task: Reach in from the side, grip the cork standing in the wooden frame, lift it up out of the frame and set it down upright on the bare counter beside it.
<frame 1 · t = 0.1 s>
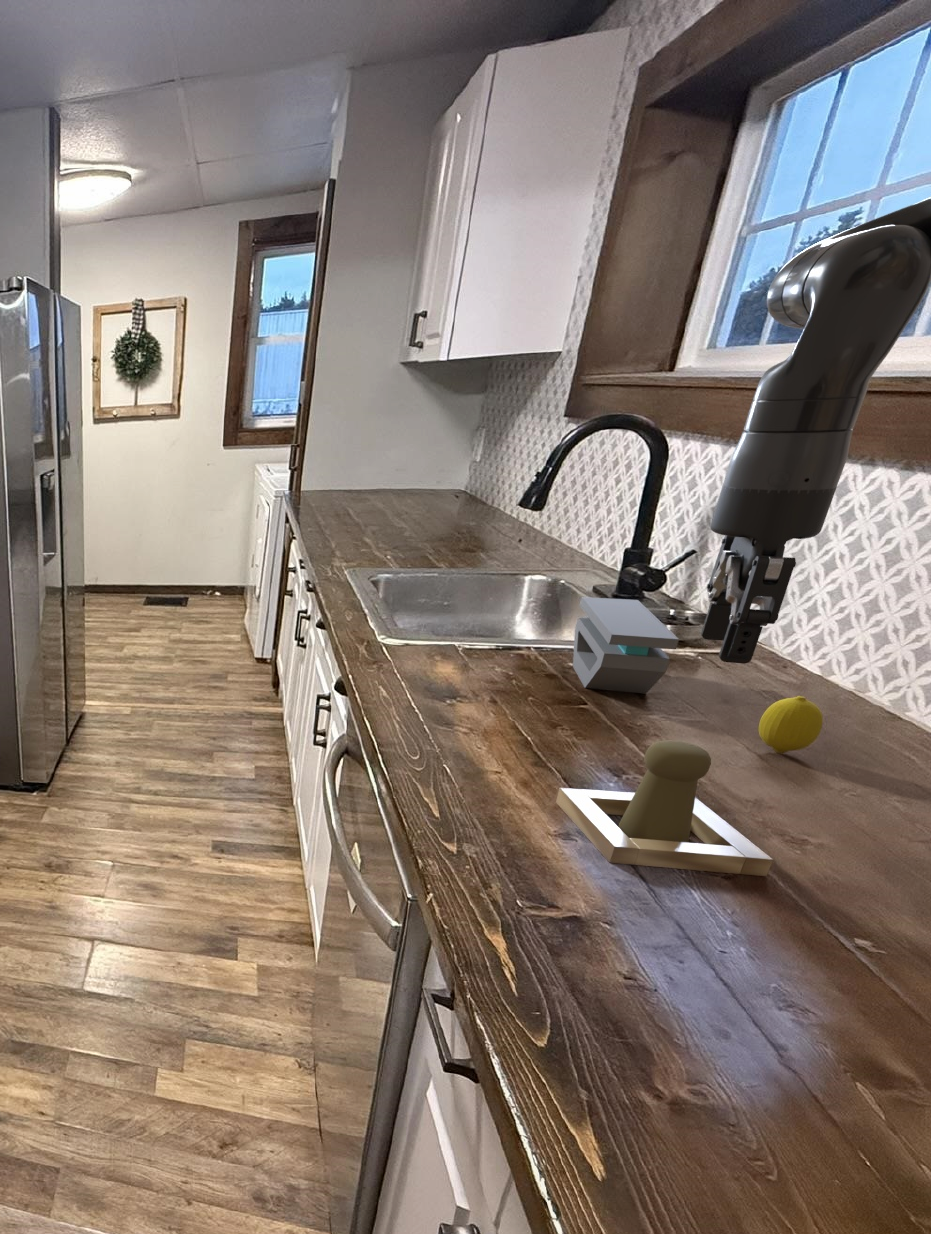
hand: (723, 650, 77), 21 cm above the worktop, tool pointing down, fingers open, 8 cm apart
grey slotted holder: (607, 680, 129), on the worktop
lemon: (778, 754, 102), on the worktop
wooden frame: (651, 836, 85), on the worktop
cork: (651, 837, 85), resting in wooden frame
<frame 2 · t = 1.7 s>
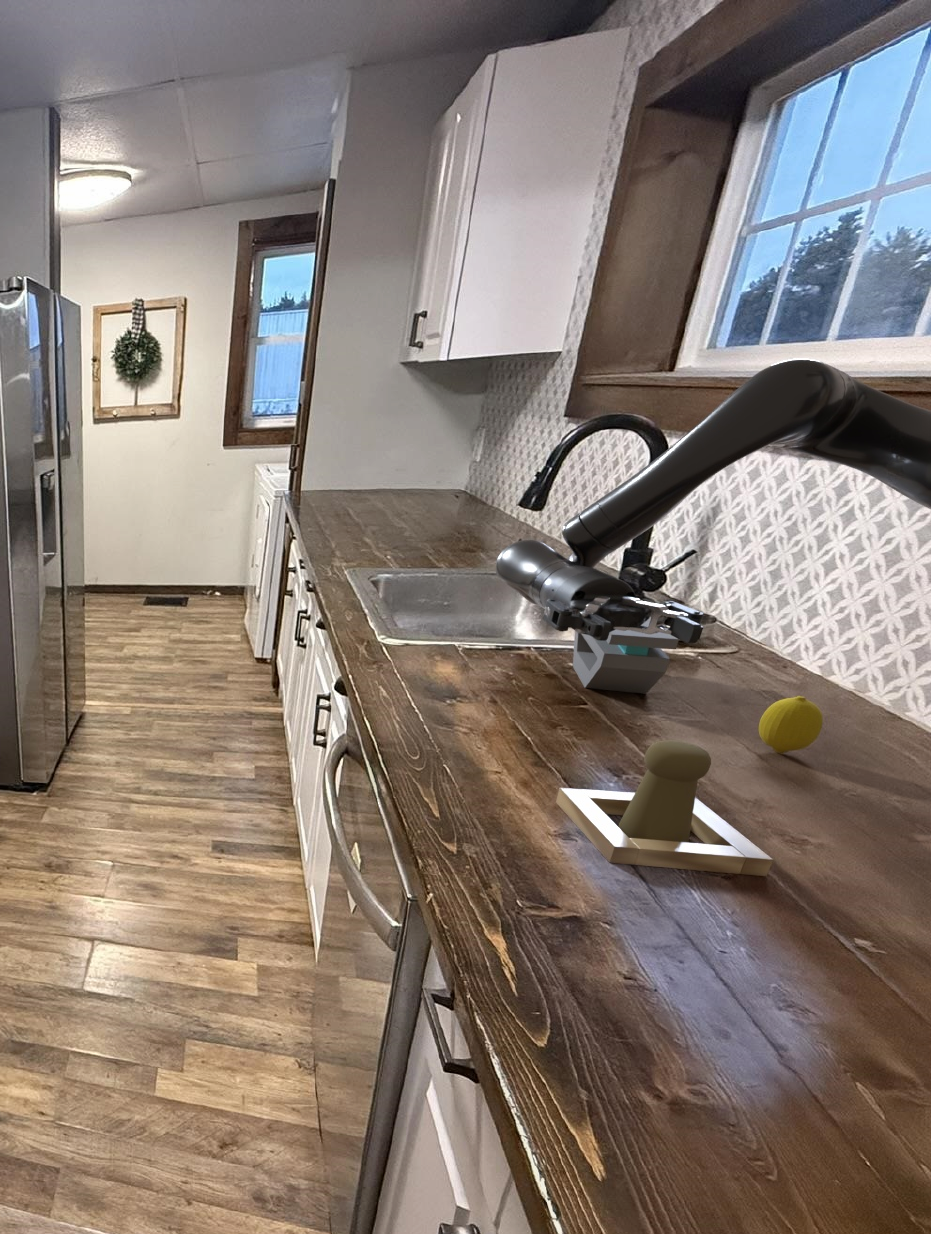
hand: (650, 633, 87), 20 cm above the worktop, tool horizontal, fingers open, 8 cm apart
nothing on the worktop moved.
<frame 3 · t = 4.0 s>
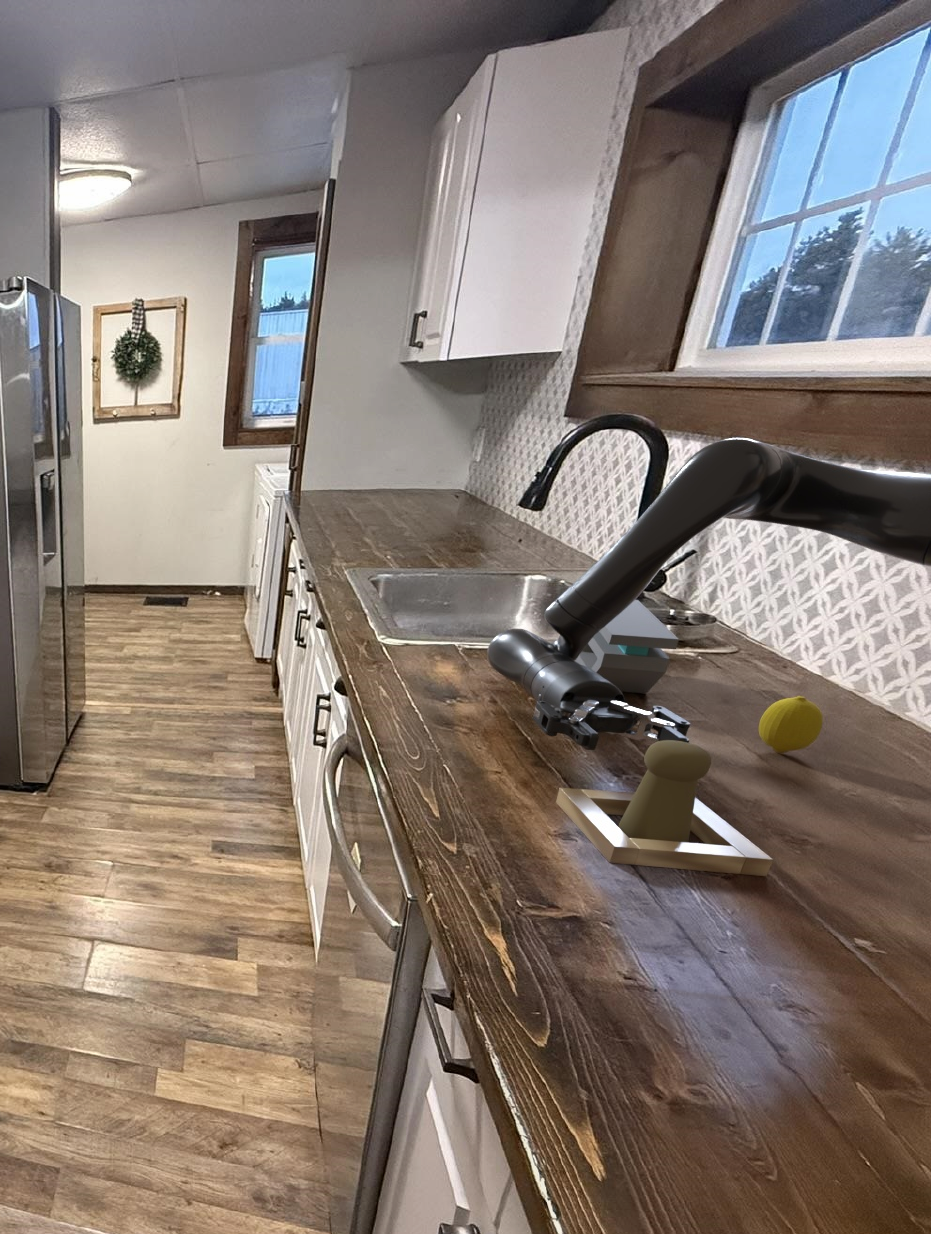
hand: (637, 745, 88), 8 cm above the worktop, tool horizontal, fingers open, 8 cm apart
nothing on the worktop moved.
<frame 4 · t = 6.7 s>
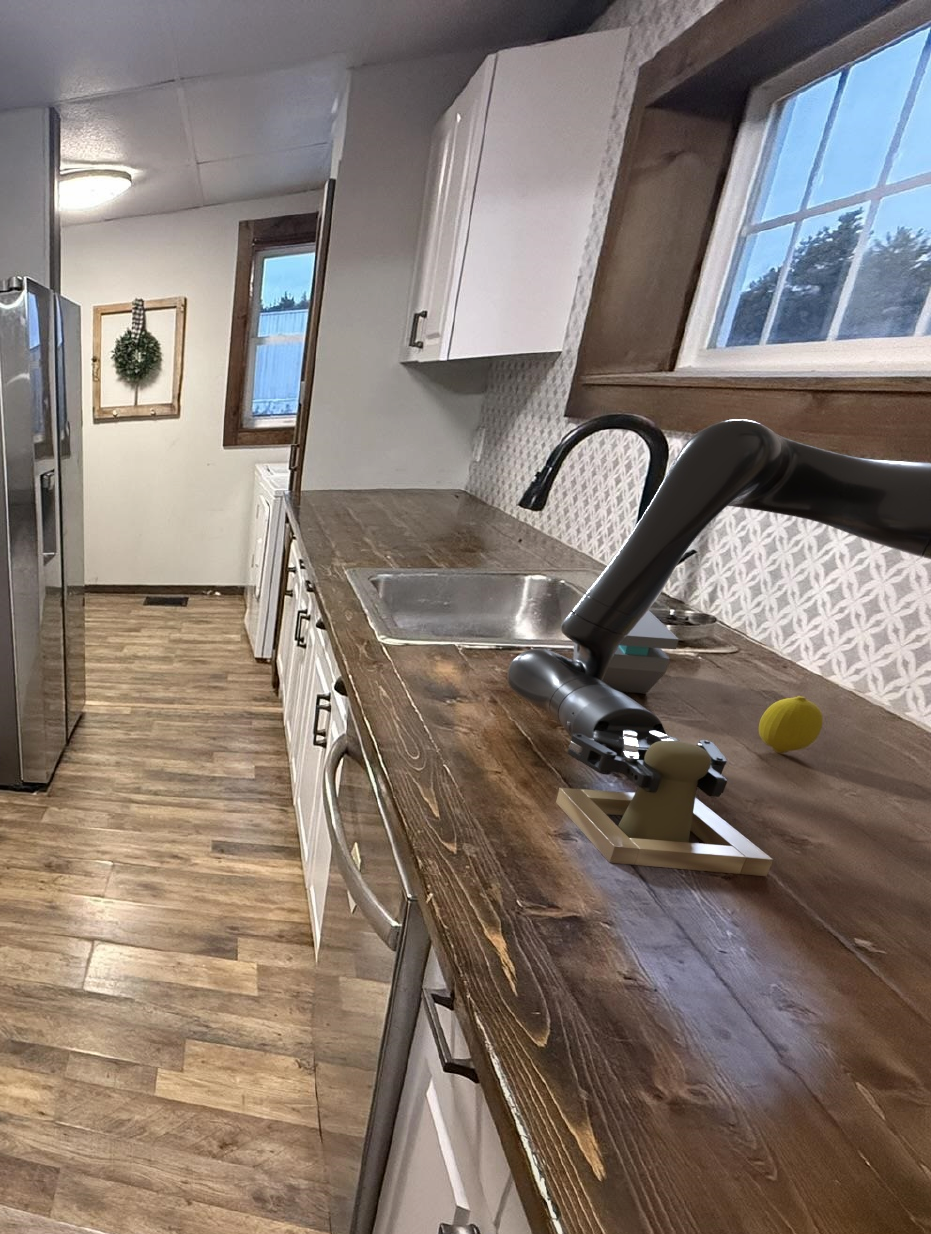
hand: (686, 786, 80), 7 cm above the worktop, tool horizontal, fingers closed on cork, 5 cm apart
cork: (651, 837, 85), resting in wooden frame, touching gripper
everything else where it was.
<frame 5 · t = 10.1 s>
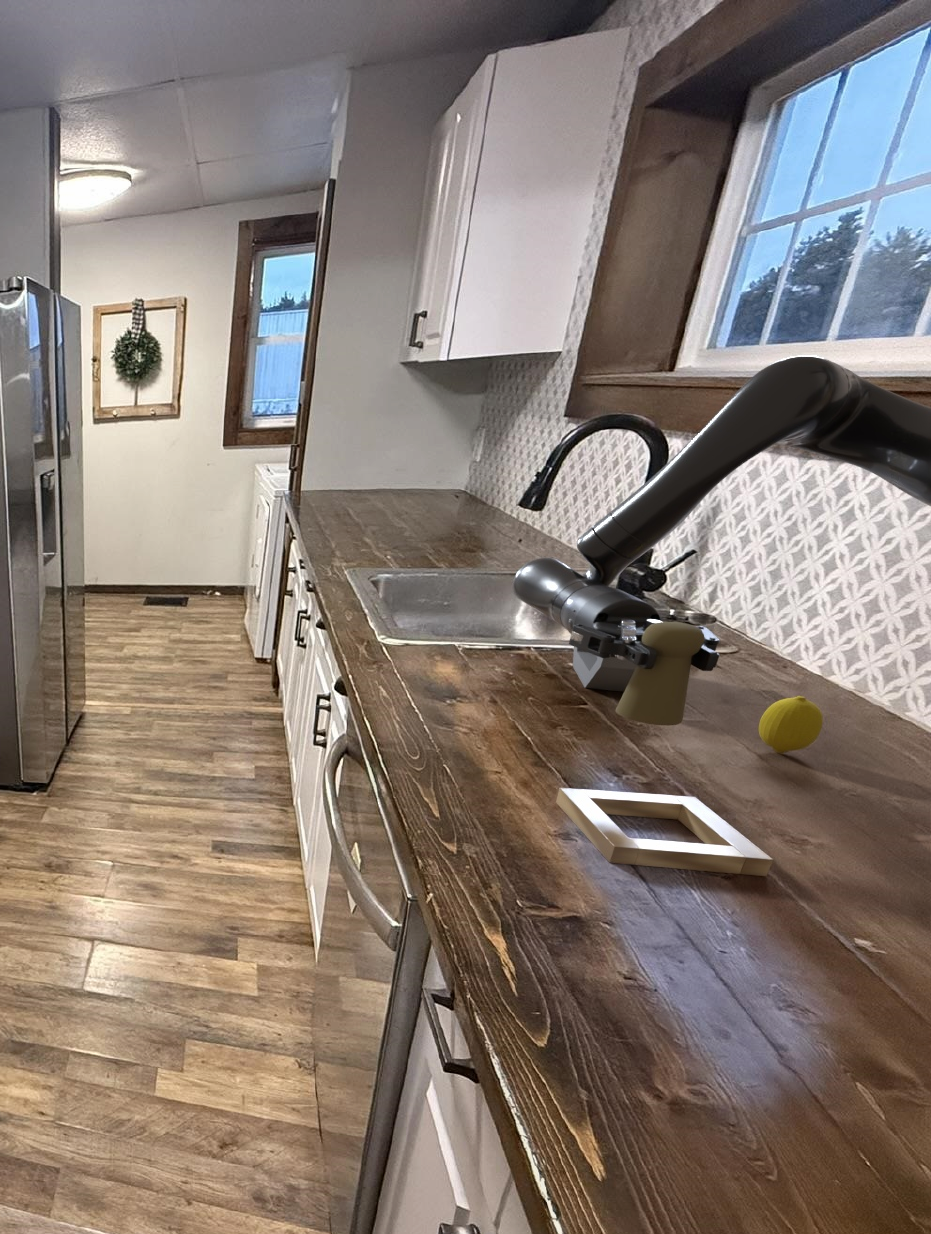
hand: (681, 661, 85), 18 cm above the worktop, tool horizontal, fingers closed on cork, 5 cm apart
cork: (647, 716, 90), point 10 cm above the worktop, touching gripper
everything else where it was.
when the fingers open (7 cm above the worktop, at t = 13.8 s): cork stays where it is, on the worktop.
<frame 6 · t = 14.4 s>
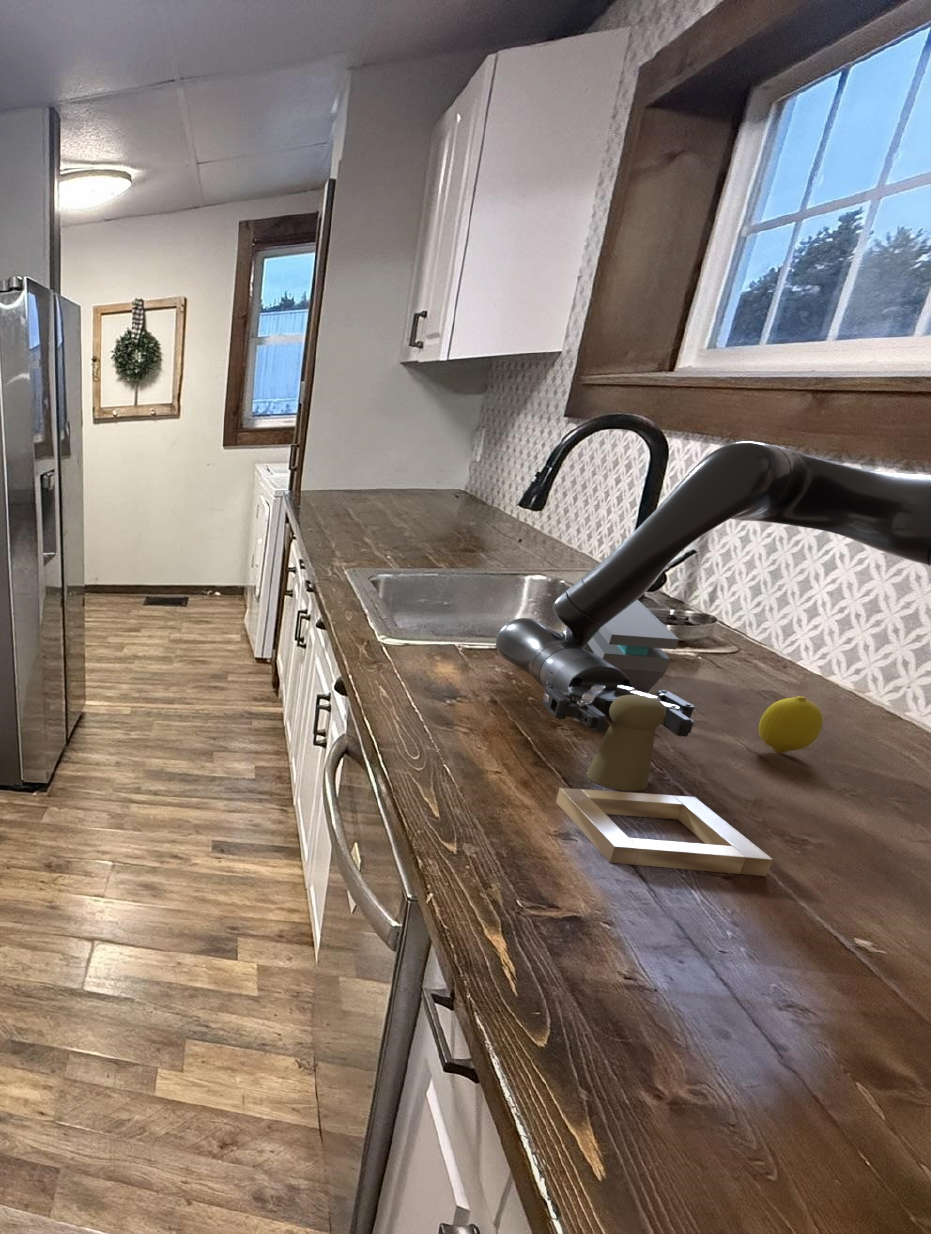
hand: (643, 727, 92), 8 cm above the worktop, tool horizontal, fingers open, 8 cm apart
cork: (615, 781, 97), on the worktop
everything else where it was.
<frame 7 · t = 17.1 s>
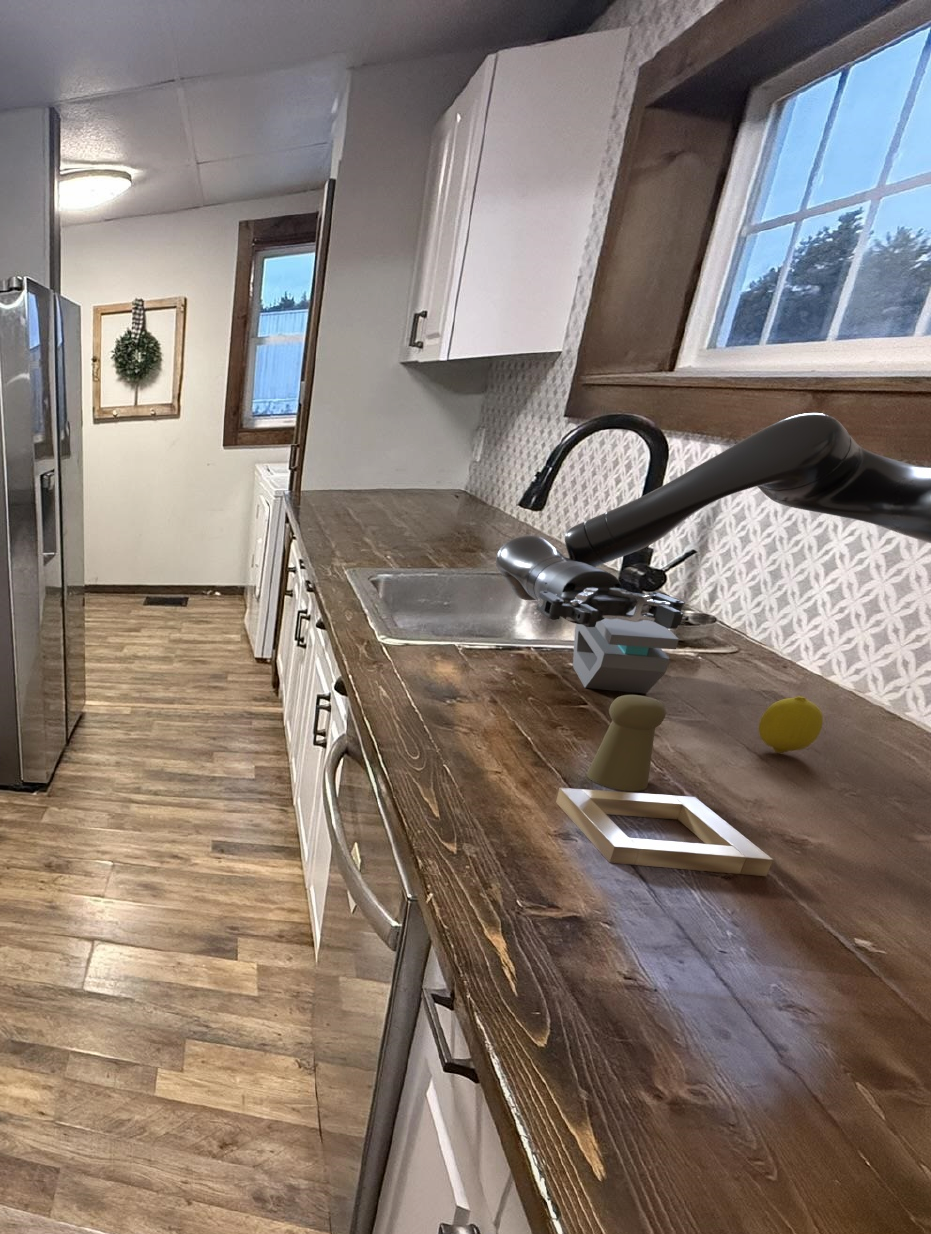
hand: (634, 620, 95), 19 cm above the worktop, tool horizontal, fingers open, 8 cm apart
nothing on the worktop moved.
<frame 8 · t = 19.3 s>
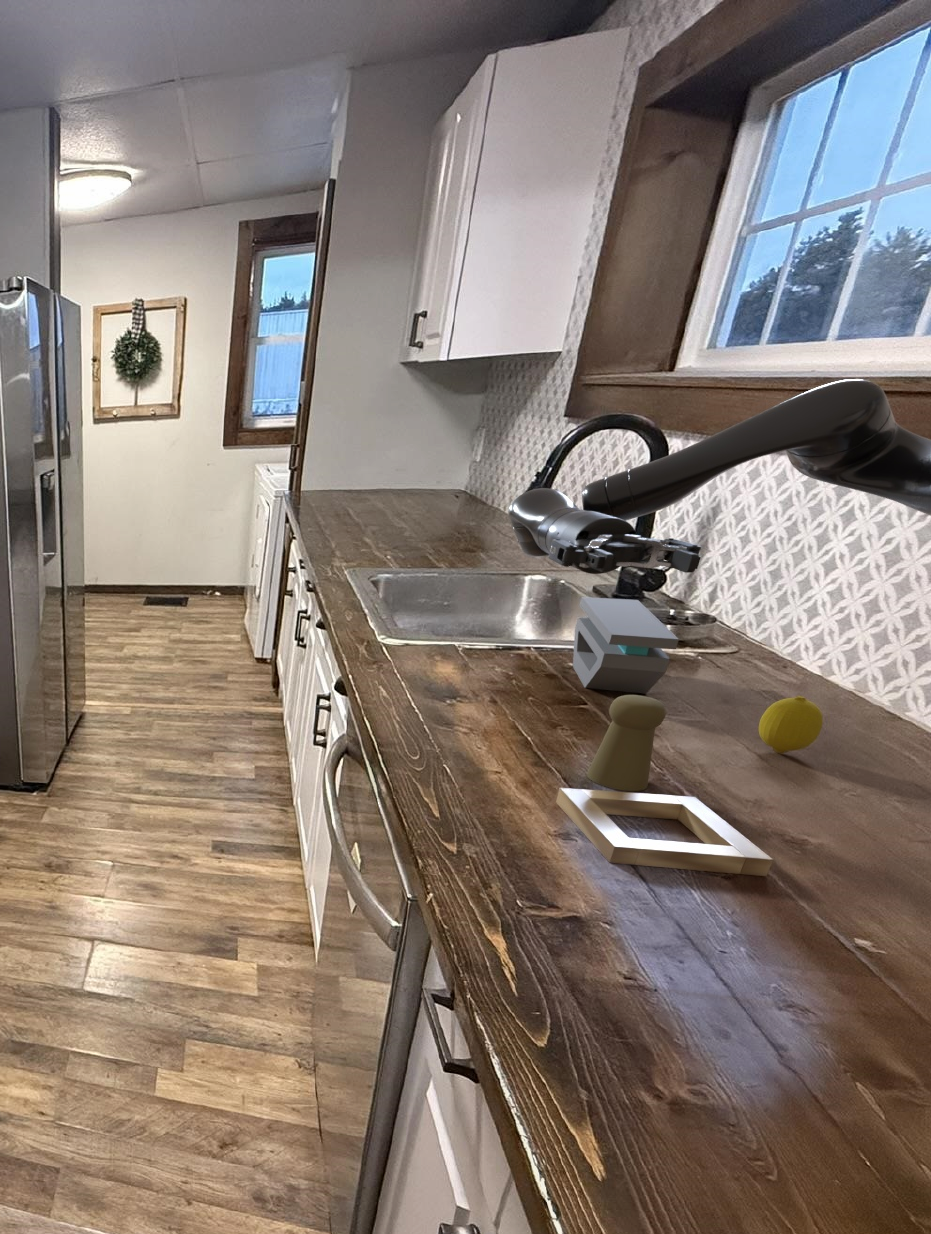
hand: (650, 563, 92), 26 cm above the worktop, tool horizontal, fingers open, 8 cm apart
nothing on the worktop moved.
at the end: cork inside the target area (0.1 cm from its centre), on the worktop; cork tilted 0°; the gripper is holding nothing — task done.
